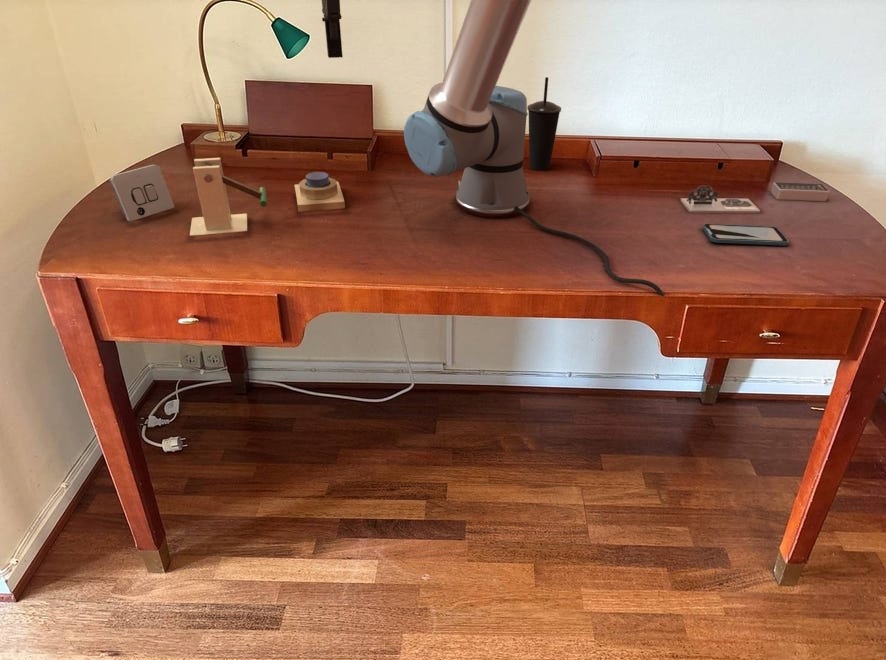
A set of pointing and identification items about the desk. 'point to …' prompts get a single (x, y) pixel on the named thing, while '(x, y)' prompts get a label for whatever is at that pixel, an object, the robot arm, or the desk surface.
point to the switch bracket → (214, 202)
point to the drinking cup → (542, 131)
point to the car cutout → (716, 202)
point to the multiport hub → (799, 191)
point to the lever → (245, 188)
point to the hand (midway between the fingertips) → (335, 56)
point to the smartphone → (745, 234)
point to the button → (317, 179)
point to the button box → (319, 196)
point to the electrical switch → (141, 192)
